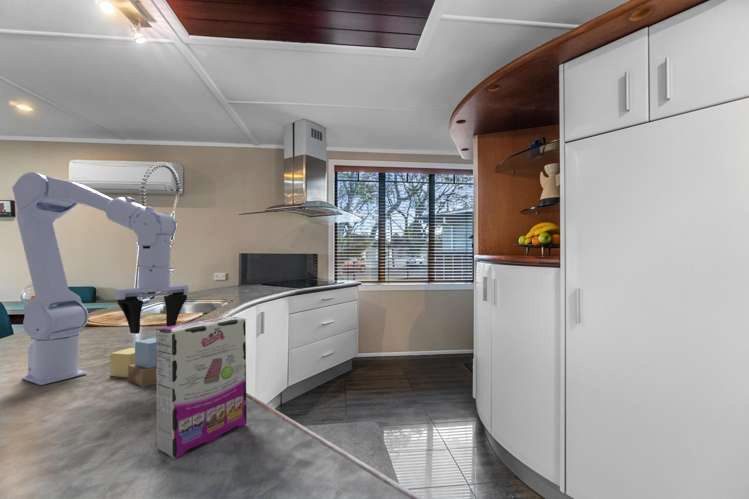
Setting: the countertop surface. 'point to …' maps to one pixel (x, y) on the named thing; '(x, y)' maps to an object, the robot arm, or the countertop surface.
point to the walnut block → (142, 375)
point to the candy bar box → (200, 383)
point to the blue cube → (145, 353)
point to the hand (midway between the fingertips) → (153, 329)
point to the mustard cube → (122, 362)
